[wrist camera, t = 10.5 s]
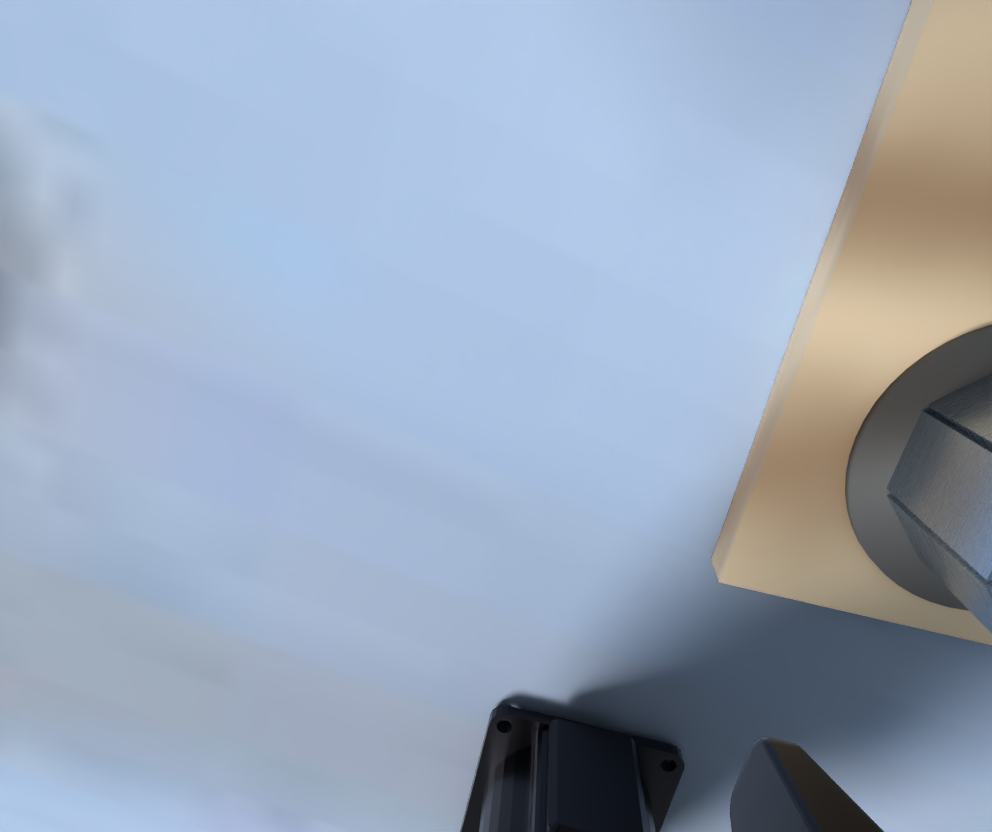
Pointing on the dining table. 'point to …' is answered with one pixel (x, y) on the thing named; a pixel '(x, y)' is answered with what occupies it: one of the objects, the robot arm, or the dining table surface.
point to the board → (880, 342)
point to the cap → (951, 493)
